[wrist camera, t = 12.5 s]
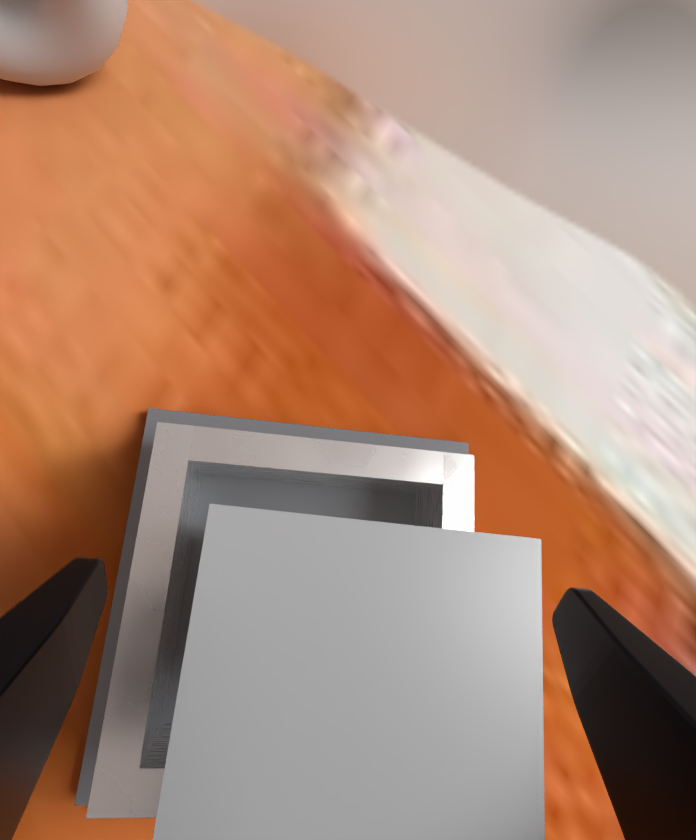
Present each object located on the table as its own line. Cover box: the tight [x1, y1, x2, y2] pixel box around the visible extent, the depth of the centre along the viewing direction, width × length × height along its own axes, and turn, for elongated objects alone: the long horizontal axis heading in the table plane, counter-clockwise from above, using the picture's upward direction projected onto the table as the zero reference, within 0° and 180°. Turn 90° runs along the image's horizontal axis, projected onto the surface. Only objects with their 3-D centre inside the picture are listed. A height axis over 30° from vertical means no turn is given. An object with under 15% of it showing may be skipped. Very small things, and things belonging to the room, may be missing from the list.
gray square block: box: [153, 504, 545, 840], centre depth 12 cm, size 5×5×13 cm
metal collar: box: [86, 422, 474, 818], centre depth 17 cm, size 11×11×4 cm
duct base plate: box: [75, 408, 468, 805], centre depth 19 cm, size 14×14×1 cm
